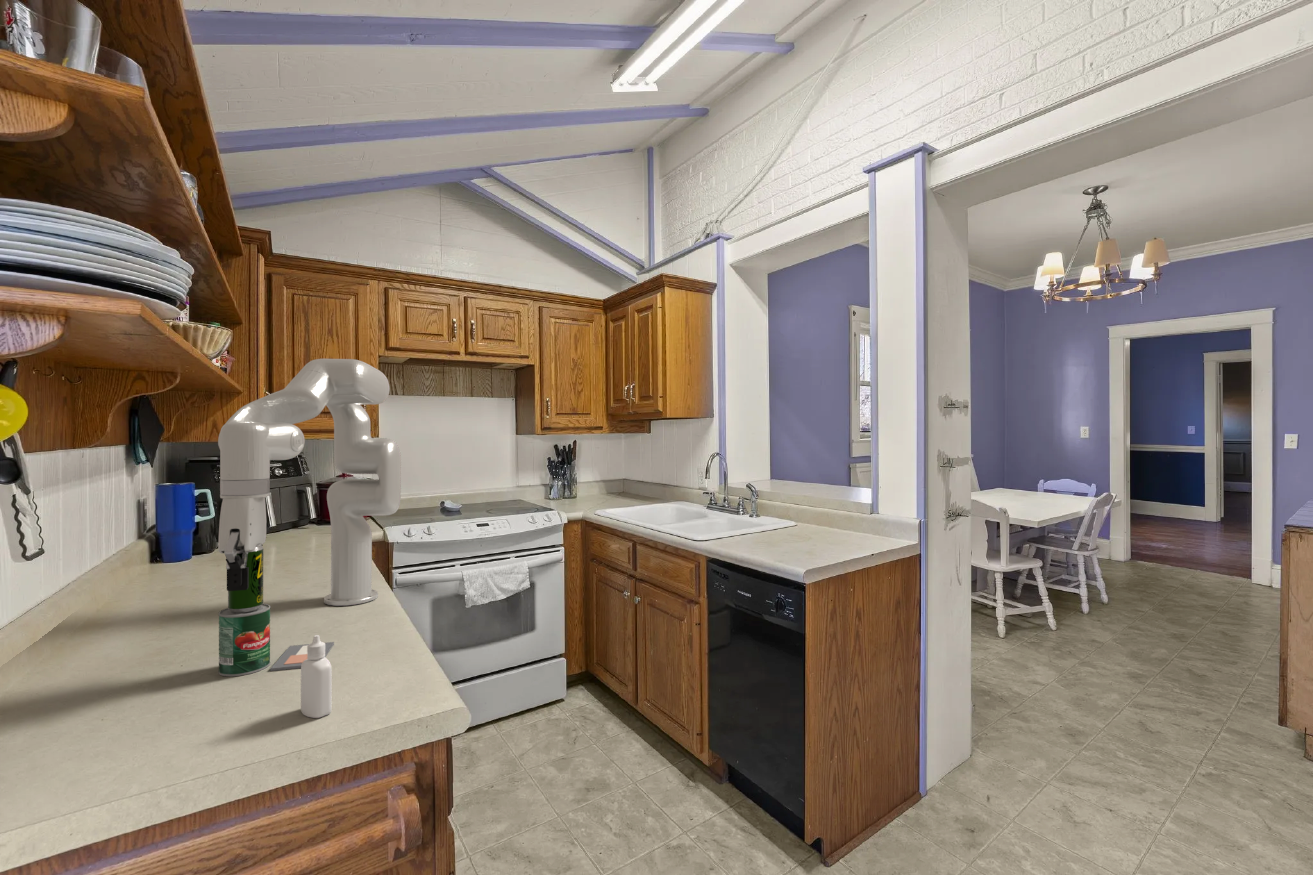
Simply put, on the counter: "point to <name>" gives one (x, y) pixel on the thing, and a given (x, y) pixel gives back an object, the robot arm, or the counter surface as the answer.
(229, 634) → the canned tomato
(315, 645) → the eye dropper bottle
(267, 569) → the counter surface
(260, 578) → the beer can
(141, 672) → the counter surface
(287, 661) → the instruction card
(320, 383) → the robot arm
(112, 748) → the counter surface
